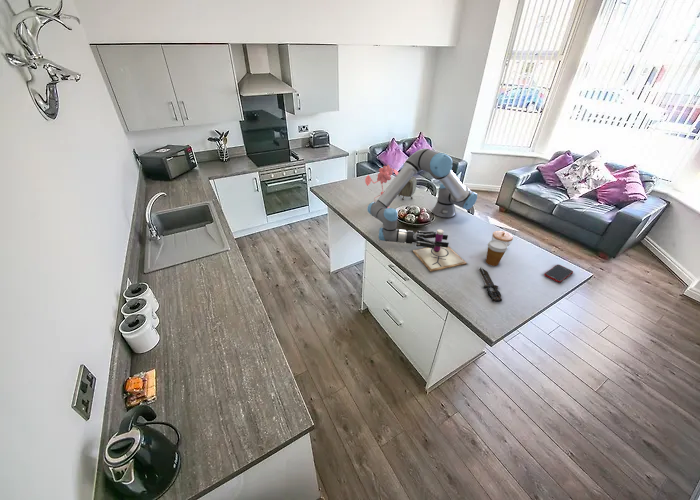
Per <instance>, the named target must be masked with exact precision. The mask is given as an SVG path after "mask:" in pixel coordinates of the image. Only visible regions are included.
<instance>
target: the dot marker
mask: <svg viewBox="0 0 700 500" xmlns="http://www.w3.org/2000/svg"><path fill="white" fill-rule="evenodd" d="M444 233H445V231H444V230H443V229H436V238H434V242H436V241H438V242H443V240H442V237H443V235H444ZM434 251H435V252H439V251H440V247H438V246H435V248H434Z"/></svg>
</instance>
